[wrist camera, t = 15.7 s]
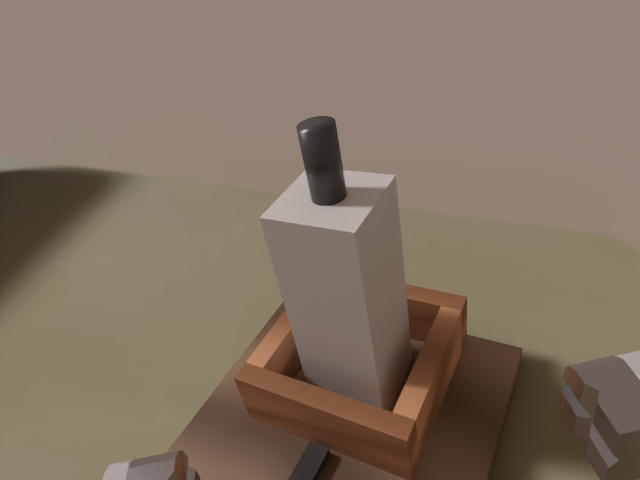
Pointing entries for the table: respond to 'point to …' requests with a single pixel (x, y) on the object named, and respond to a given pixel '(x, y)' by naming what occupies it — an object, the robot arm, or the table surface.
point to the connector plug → (342, 271)
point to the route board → (360, 409)
